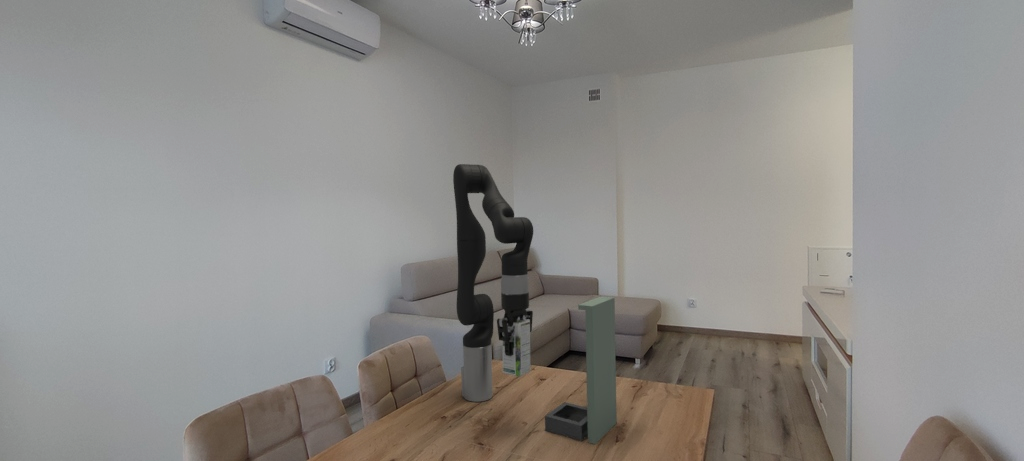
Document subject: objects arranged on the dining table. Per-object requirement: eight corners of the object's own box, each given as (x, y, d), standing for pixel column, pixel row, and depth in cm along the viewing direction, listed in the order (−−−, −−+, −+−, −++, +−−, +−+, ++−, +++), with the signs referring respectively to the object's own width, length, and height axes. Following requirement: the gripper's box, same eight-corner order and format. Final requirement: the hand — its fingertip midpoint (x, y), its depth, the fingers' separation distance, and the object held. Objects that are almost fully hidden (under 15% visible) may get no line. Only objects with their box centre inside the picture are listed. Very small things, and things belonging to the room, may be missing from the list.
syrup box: (501, 373, 123) (500, 320, 123) (514, 367, 128) (513, 316, 127) (518, 377, 120) (517, 323, 119) (531, 371, 124) (530, 318, 124)
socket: (545, 430, 123) (544, 416, 123) (564, 415, 132) (564, 402, 132) (581, 441, 117) (581, 426, 117) (599, 424, 126) (599, 410, 125)
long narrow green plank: (580, 440, 117) (578, 304, 116) (603, 419, 129) (601, 296, 128) (595, 444, 115) (592, 306, 114) (616, 423, 126) (614, 297, 125)
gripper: (518, 286, 131) (519, 343, 131) (487, 293, 119) (489, 357, 120) (540, 288, 127) (541, 347, 127) (510, 296, 115) (512, 361, 115)
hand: (516, 352), depth 123 cm, fingers closed on syrup box, 6 cm apart
